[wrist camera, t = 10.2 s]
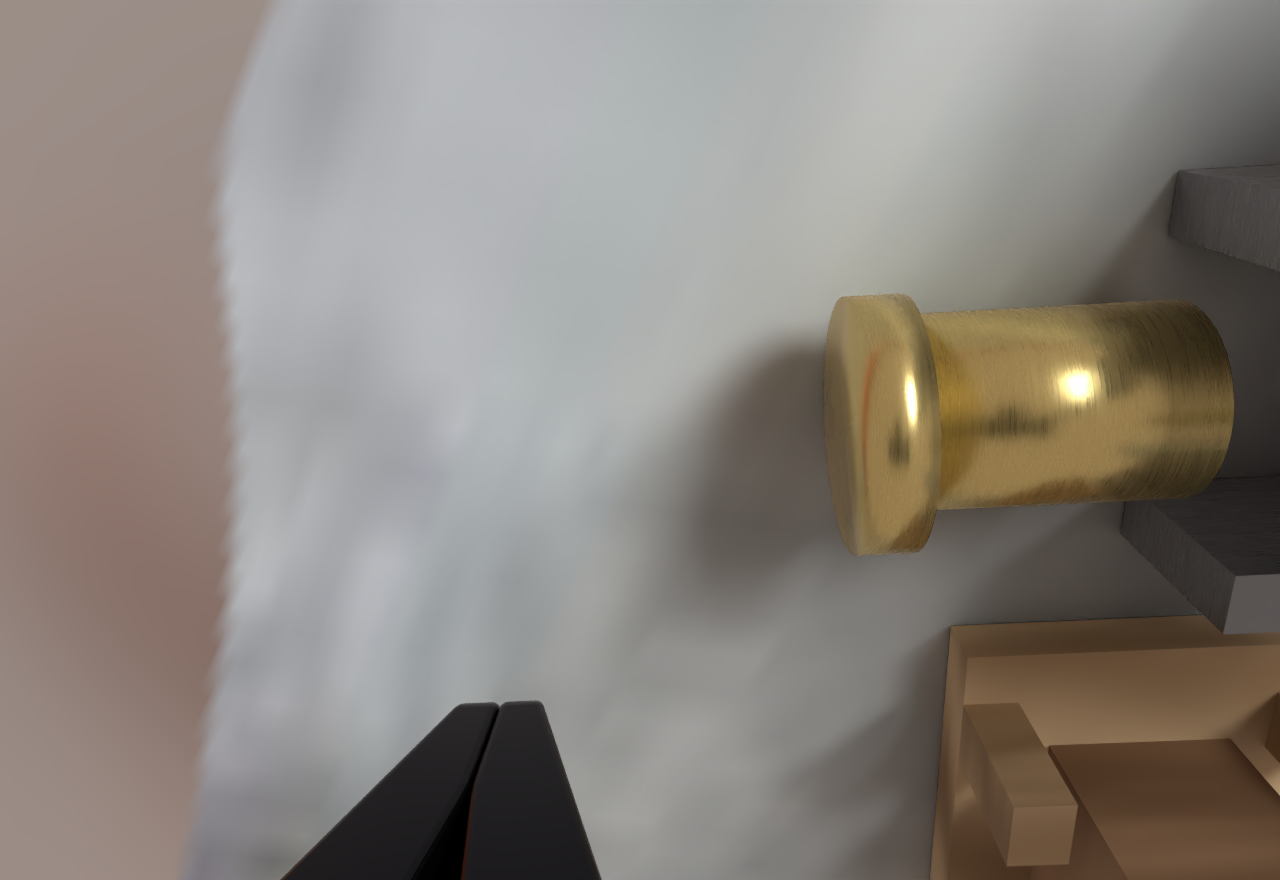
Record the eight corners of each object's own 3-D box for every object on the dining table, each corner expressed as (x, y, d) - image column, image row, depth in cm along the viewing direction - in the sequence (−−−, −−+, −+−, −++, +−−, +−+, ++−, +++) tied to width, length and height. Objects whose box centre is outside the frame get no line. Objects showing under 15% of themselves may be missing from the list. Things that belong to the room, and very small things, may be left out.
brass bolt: (1141, 254, 17) (1302, 314, 13) (1108, 473, 19) (1241, 589, 15) (825, 272, 17) (881, 337, 13) (821, 487, 19) (870, 607, 15)
